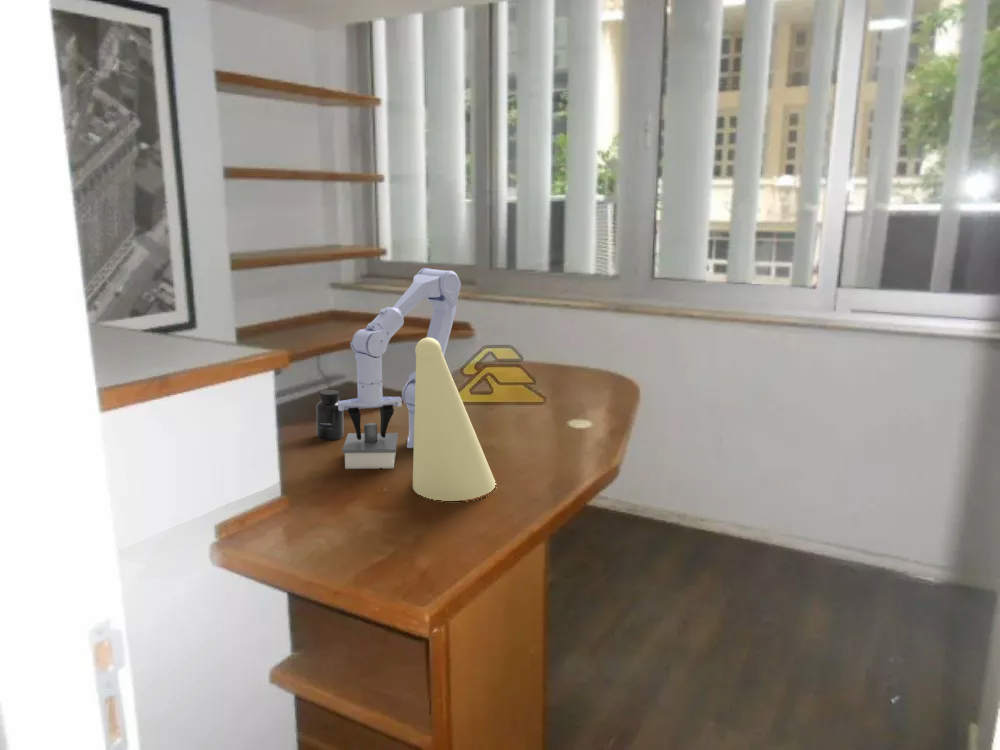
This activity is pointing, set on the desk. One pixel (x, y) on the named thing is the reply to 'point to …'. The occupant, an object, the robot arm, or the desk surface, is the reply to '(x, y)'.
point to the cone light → (444, 434)
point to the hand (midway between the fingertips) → (370, 437)
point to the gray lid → (370, 441)
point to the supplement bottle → (329, 416)
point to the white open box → (369, 460)
